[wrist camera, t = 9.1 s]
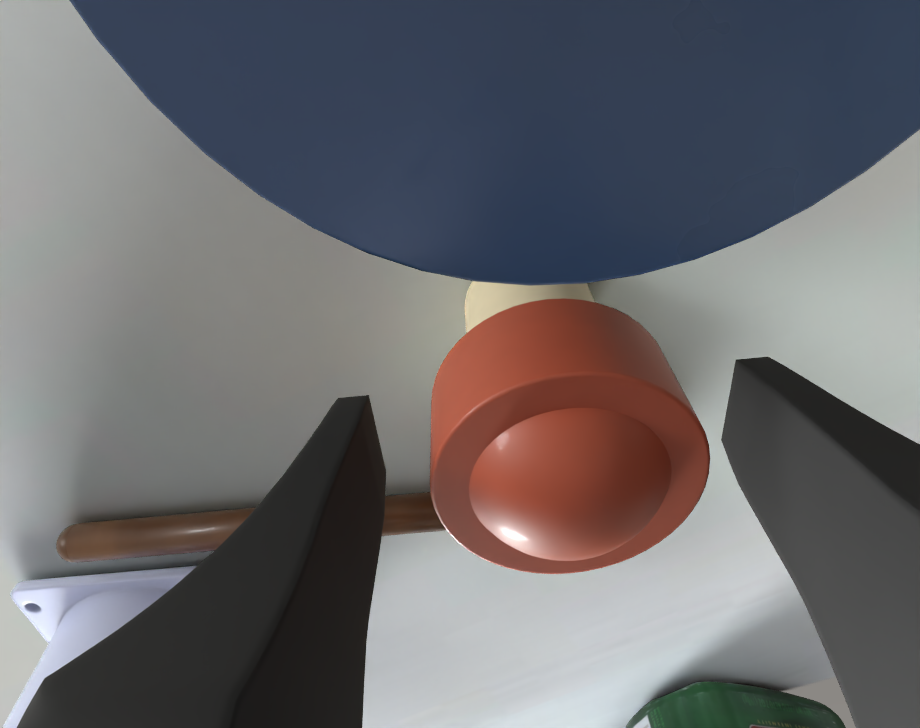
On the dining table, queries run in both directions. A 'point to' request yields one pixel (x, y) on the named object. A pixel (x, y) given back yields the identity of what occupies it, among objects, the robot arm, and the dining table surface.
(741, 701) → the coffee jar
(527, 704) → the dining table surface
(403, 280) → the dining table surface
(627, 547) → the toy mushroom
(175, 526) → the spoon
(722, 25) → the pot lid
